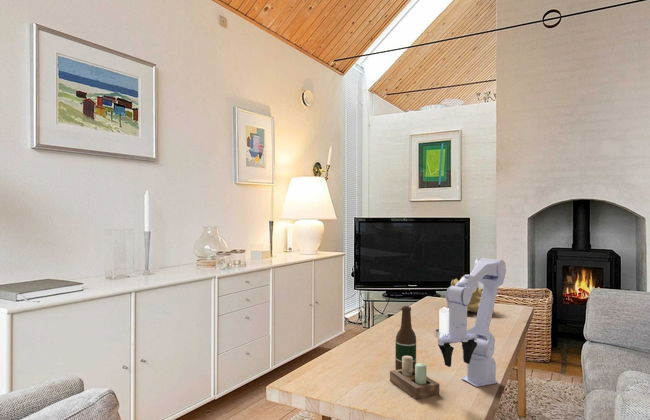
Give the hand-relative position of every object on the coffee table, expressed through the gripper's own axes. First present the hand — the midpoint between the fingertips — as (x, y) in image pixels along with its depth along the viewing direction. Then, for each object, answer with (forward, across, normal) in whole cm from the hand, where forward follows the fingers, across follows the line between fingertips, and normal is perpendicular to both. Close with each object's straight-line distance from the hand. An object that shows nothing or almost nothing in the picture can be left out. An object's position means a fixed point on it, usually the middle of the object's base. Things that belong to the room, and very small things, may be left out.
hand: (457, 364), depth 147 cm
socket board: (+10, -10, +10) cm, 17 cm away
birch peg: (+10, -10, +14) cm, 20 cm away
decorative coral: (+10, +82, +88) cm, 121 cm away
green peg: (+10, -10, +6) cm, 15 cm away
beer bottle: (+10, -4, +24) cm, 26 cm away
